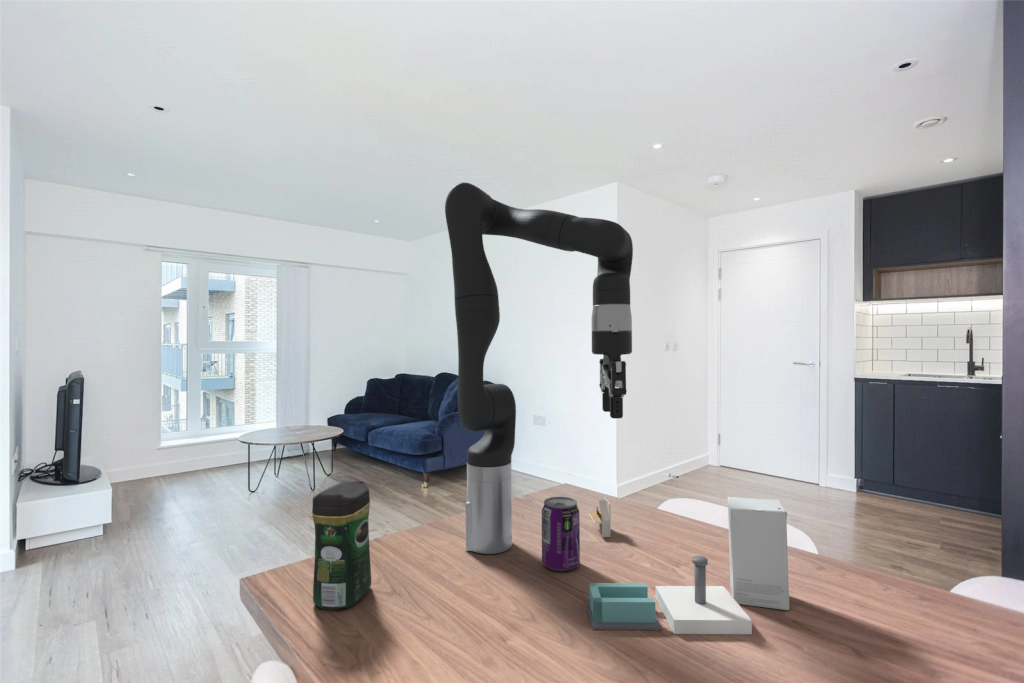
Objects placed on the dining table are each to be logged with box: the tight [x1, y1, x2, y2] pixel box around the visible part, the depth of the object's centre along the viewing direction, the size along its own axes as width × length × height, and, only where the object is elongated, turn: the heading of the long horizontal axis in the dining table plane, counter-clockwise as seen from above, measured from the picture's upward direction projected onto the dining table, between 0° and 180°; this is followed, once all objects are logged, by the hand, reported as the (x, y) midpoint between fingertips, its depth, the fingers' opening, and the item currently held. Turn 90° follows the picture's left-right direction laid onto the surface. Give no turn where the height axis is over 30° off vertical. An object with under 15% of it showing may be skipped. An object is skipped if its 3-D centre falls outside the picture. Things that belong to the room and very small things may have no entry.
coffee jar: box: [311, 479, 372, 611], centre depth 82 cm, size 10×8×19 cm
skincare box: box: [727, 496, 790, 611], centre depth 81 cm, size 8×7×16 cm
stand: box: [654, 555, 753, 635], centre depth 76 cm, size 11×10×9 cm
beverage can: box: [541, 496, 581, 572], centre depth 93 cm, size 7×7×12 cm
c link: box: [588, 582, 656, 623], centre depth 76 cm, size 9×6×3 cm, turn 89°
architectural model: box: [588, 496, 612, 538], centre depth 110 cm, size 3×7×7 cm, turn 3°
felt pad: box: [585, 598, 663, 631], centre depth 76 cm, size 10×8×1 cm
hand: (612, 414), depth 94 cm, fingers open, 8 cm apart
